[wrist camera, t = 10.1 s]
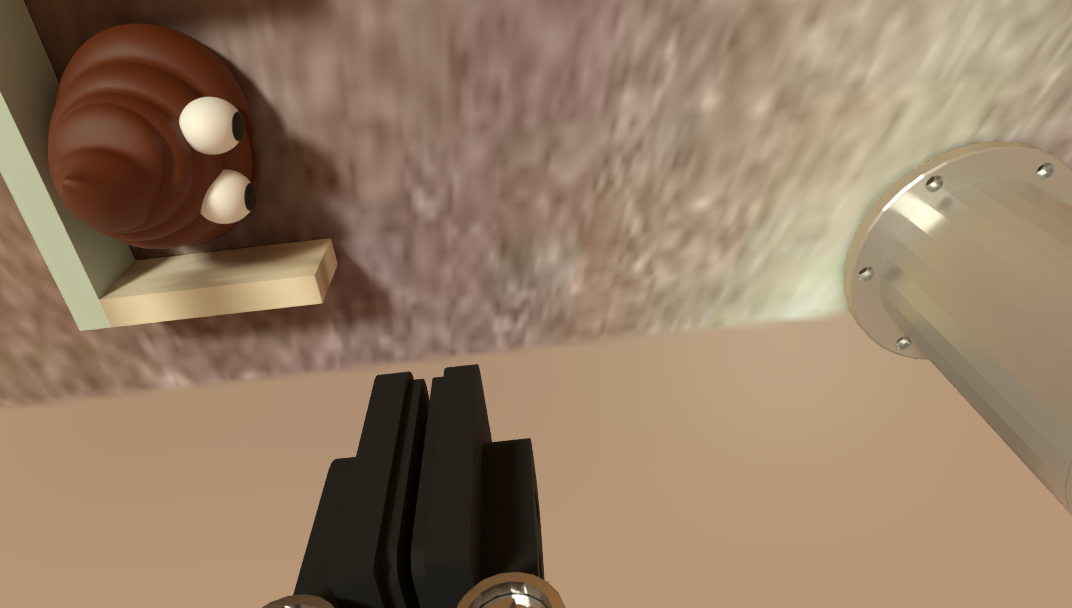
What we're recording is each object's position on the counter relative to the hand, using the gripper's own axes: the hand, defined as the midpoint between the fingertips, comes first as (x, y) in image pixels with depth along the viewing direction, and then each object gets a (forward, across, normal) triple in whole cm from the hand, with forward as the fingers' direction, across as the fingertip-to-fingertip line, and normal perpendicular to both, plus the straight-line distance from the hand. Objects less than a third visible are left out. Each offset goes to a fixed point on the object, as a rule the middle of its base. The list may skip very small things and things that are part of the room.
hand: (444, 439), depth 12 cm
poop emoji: (+25, +14, +1) cm, 28 cm away
